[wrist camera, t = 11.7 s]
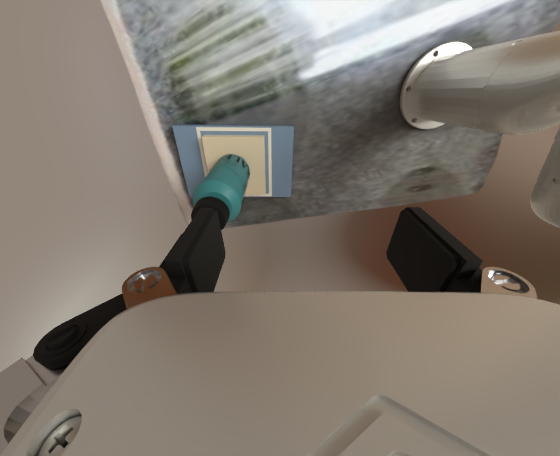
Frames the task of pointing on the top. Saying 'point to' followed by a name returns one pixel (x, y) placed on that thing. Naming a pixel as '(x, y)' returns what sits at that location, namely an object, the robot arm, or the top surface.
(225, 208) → the beverage bottle
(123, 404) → the robot arm
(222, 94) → the top surface
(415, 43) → the top surface
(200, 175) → the board
